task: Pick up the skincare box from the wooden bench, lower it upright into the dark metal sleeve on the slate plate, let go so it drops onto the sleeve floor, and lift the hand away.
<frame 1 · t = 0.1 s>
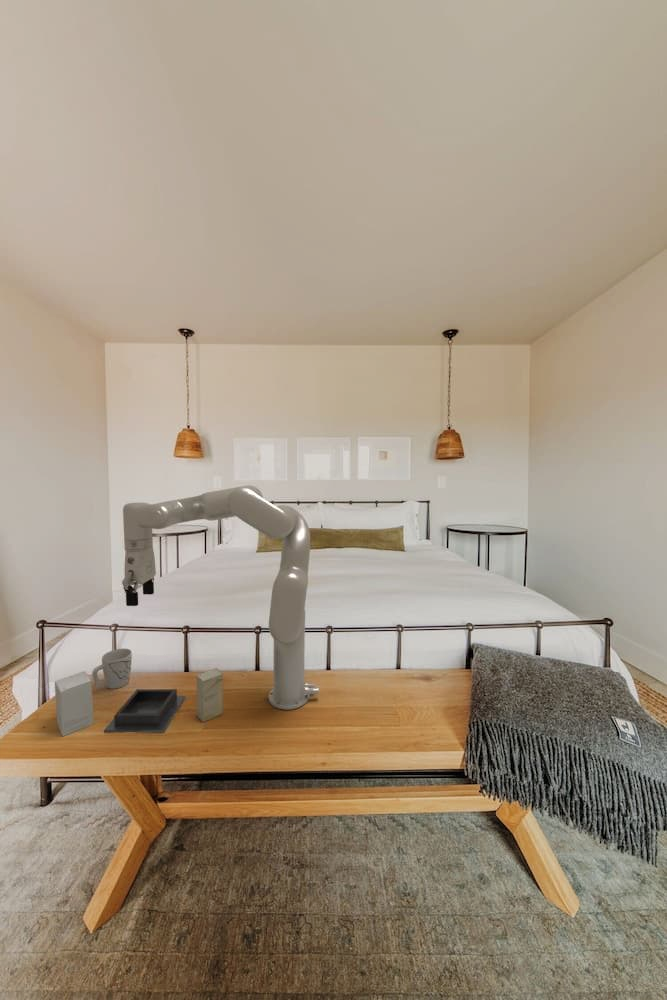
hand: (140, 599, 112), 31 cm above the table, tool pointing down, fingers open, 9 cm apart
sleeve holder: (147, 714, 107), on the table
skincare box: (210, 715, 107), on the table
mug: (113, 686, 120), on the table
supplement box: (75, 724, 102), on the table
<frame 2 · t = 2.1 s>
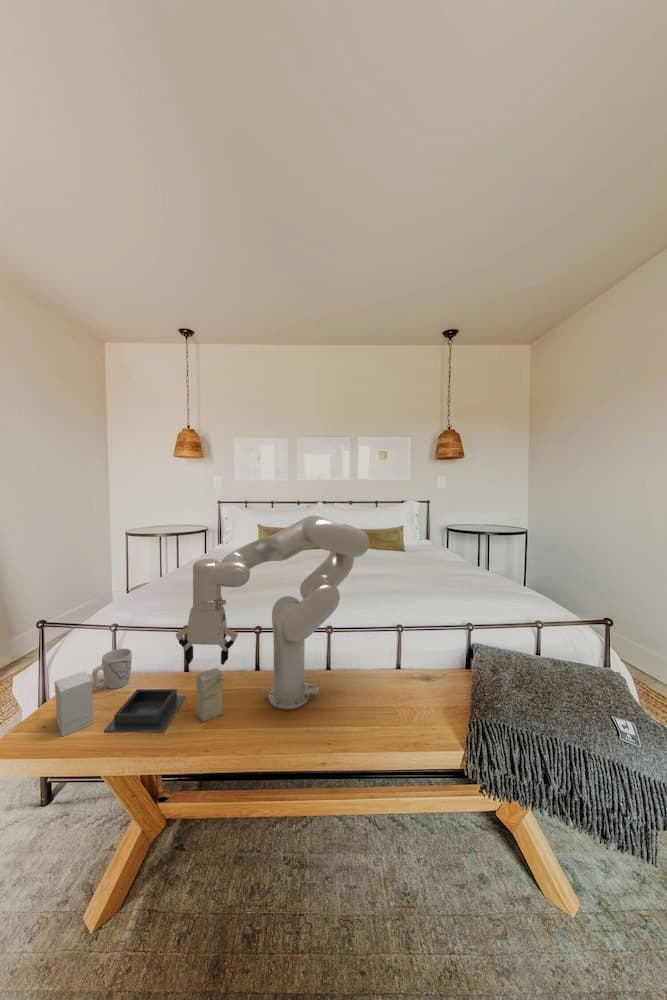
hand: (206, 662, 105), 16 cm above the table, tool pointing down, fingers open, 9 cm apart
nothing on the table moved.
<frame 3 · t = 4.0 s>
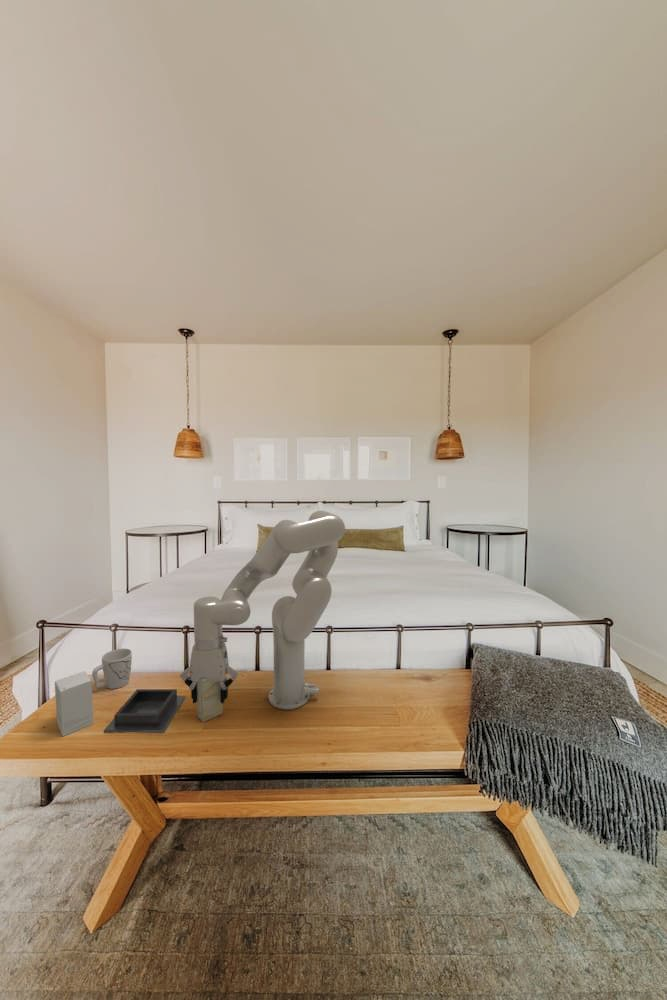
hand: (209, 700, 106), 4 cm above the table, tool pointing down, fingers closed on skincare box, 7 cm apart
skincare box: (210, 714, 107), on the table, touching gripper
everything else where it was.
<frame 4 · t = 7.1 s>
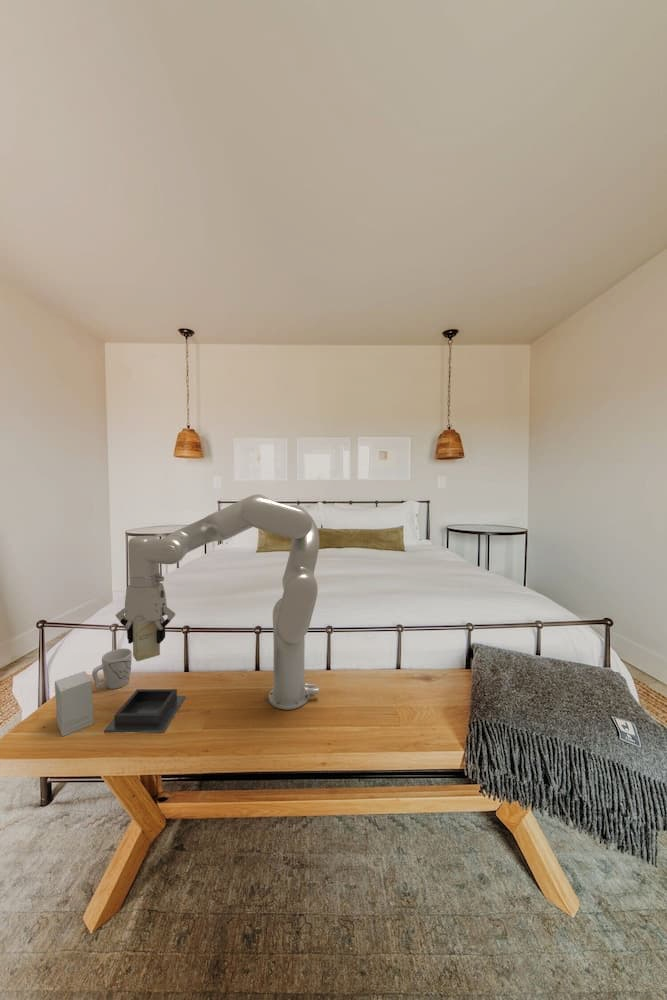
hand: (146, 640, 105), 22 cm above the table, tool pointing down, fingers closed on skincare box, 7 cm apart
skincare box: (146, 656, 105), point 18 cm above the table, touching gripper
everything else where it was.
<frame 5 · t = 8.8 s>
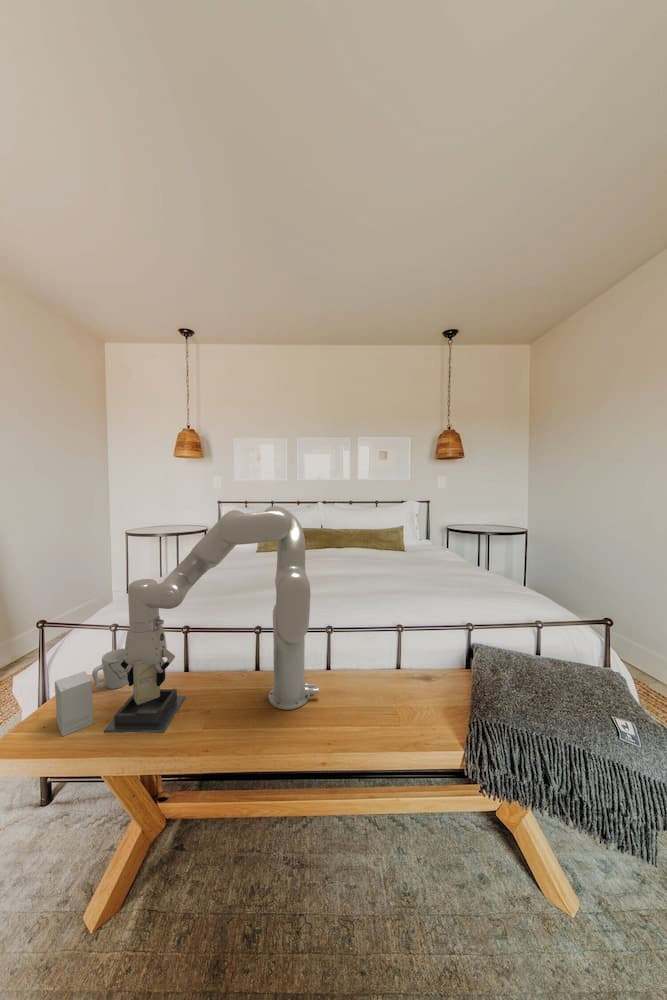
hand: (146, 683, 106), 9 cm above the table, tool pointing down, fingers closed on skincare box, 7 cm apart
skincare box: (147, 698, 106), point 5 cm above the table, touching gripper
everything else where it was.
when the fingers open (7 cm above the table, at t = 10.2 s): skincare box drops 2 cm, resting on sleeve holder.
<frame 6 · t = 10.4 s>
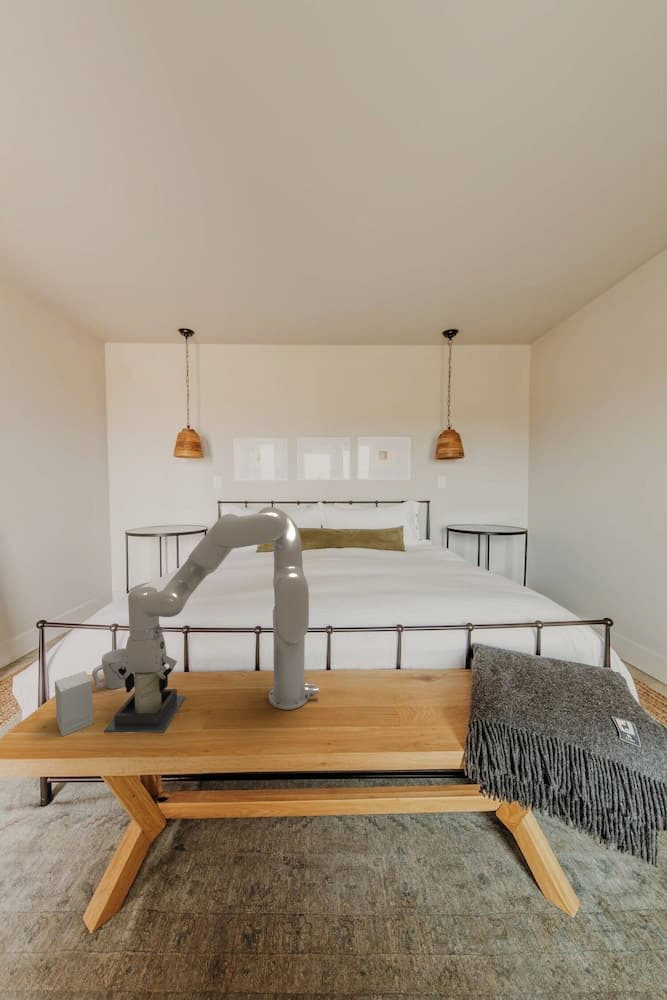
hand: (146, 689, 106), 7 cm above the table, tool pointing down, fingers open, 9 cm apart
skincare box: (148, 712, 107), point 1 cm above the table, touching sleeve holder
everything else where it was.
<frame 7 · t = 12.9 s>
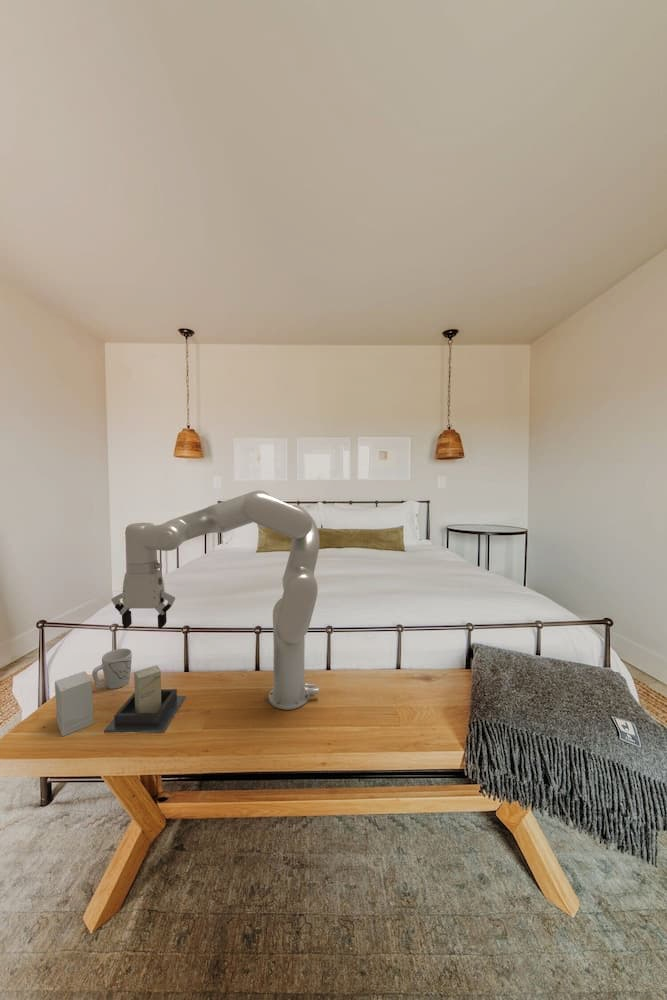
hand: (144, 626, 104), 26 cm above the table, tool pointing down, fingers open, 9 cm apart
nothing on the table moved.
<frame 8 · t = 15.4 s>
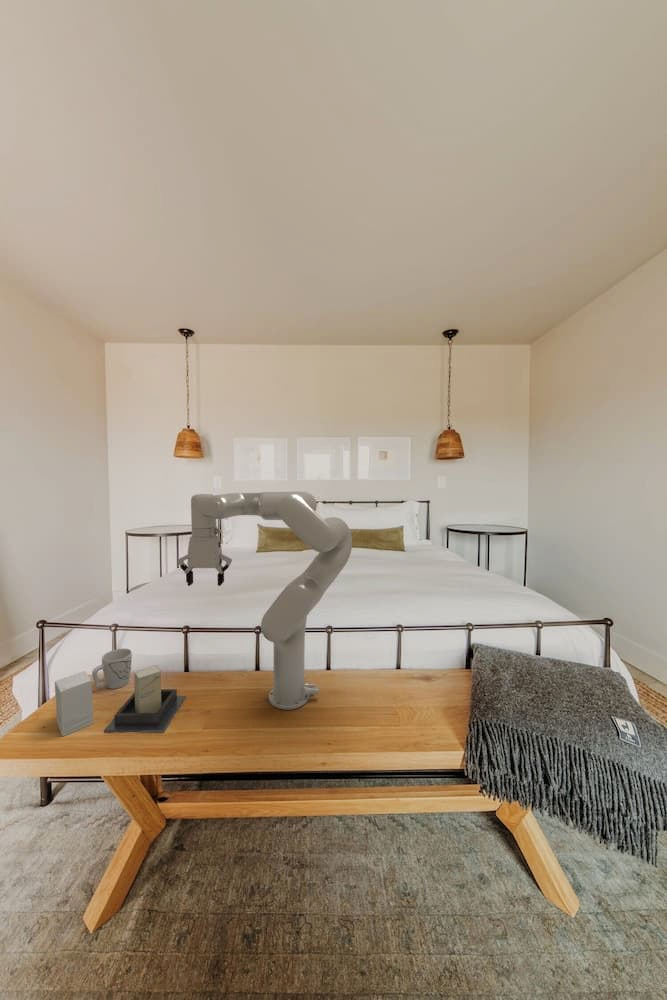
hand: (205, 584, 120), 33 cm above the table, tool pointing down, fingers open, 9 cm apart
nothing on the table moved.
at the end: skincare box 0.3 cm off-centre on the sleeve holder, point 0.6 cm above the sleeve holder's base; skincare box tilted 0°; the gripper is holding nothing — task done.
